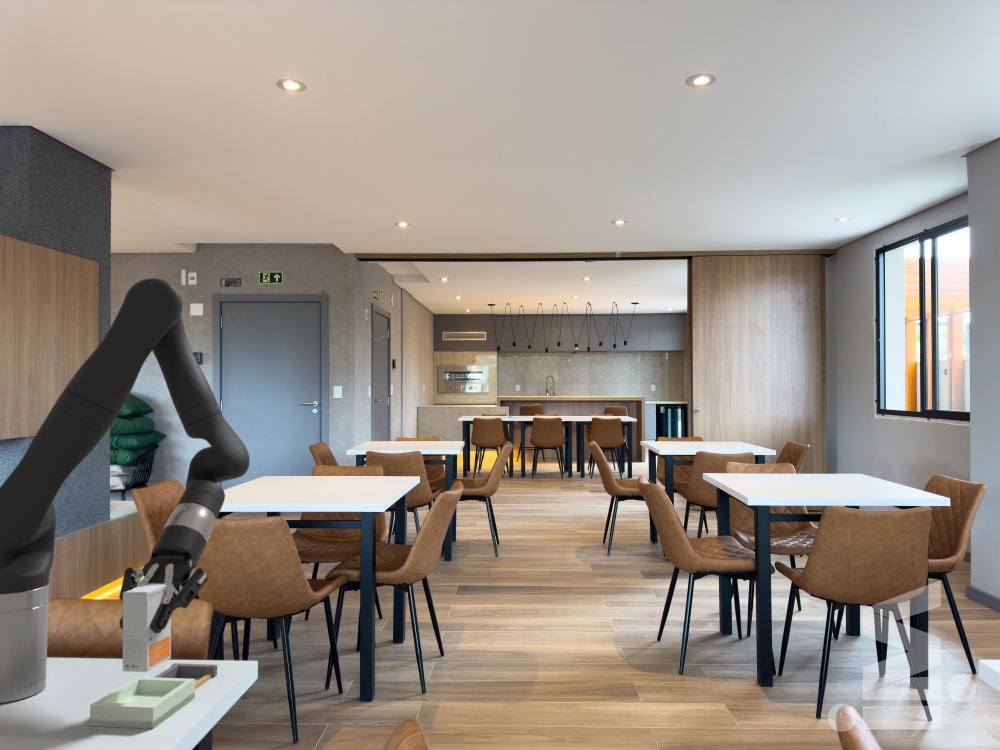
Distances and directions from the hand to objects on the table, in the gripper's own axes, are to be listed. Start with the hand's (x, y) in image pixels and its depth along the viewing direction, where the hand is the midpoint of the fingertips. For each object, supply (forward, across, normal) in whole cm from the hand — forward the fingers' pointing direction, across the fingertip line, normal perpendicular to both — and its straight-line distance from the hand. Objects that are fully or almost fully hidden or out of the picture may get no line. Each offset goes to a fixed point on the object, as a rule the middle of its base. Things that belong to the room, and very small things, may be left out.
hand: (140, 629), depth 105 cm
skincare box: (+3, 0, +6) cm, 6 cm away
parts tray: (+8, 0, +10) cm, 13 cm away
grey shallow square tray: (+1, -1, +18) cm, 18 cm away
